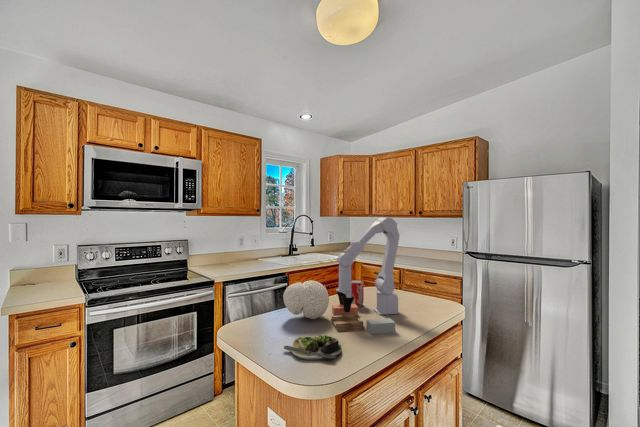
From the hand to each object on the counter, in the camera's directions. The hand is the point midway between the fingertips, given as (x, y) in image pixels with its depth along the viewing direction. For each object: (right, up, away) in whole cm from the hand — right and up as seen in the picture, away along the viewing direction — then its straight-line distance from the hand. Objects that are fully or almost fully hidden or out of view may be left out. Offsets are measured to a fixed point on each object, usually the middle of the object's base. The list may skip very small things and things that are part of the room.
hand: (344, 309), depth 138 cm
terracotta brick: (0, -3, 0) cm, 3 cm away
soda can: (+7, -2, +13) cm, 15 cm away
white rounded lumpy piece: (-17, -3, -6) cm, 18 cm away
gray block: (+13, -3, -19) cm, 23 cm away
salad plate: (-12, -3, -36) cm, 38 cm away
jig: (0, -2, -13) cm, 13 cm away
